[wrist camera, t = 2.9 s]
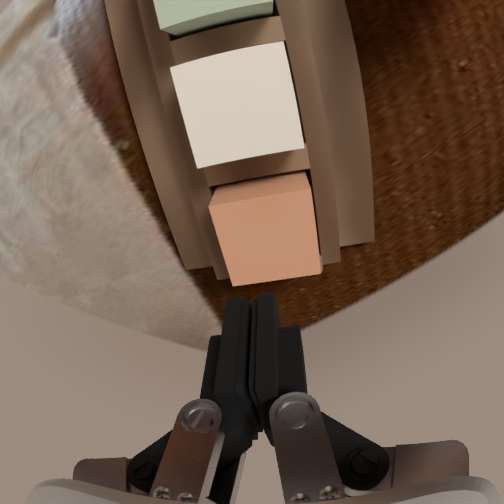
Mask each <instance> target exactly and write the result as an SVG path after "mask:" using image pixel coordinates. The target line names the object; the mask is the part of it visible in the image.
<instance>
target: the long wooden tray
mask: <svg viewBox="0 0 504 504" xmlns="http://www.w3.org/2000/svg"><path fill="white" fill-rule="evenodd" d="M104 1H105V6H106V11H107V16H108V20H109V25H110V30H111V34H112V38H113V43H114V47H115V51H116V55H117V59H118V63H119V67H120V71H121V75H122V79H123V82H124V86H125V90H126V93H127V97H128V101H129V104H130V108H131V111H132V115H133V118H134V121H135V125H136V128H137V131H138V135H139V138H140V141H141V144H142V148H143V151H144V154H145V157H146V160H147V163H148V166H149V169H150V172H151V175H152V178H153V181H154V184H155V187H156V190H157V193H158V196H159V199H160V202H161V204H162V207H163V210H164V213H165V216H166V218H167V221H168V224H169V227H170V229H171V232H172V235H173V237H174V240H175V243H176V245H177V248H178V251H179V253H180V256H181V258H182V261H183V264H184V266H185V269H186V270H190V269H197V268H204V267H211V266H213V268H214V271H215V274H216V277H217V280H222V279H229V278H230V276H229V273H228V269H227V266H226V263H225V260H224V257H223V253H222V250H221V247H220V244H219V240H218V237H217V234H216V230H215V227H214V224H213V220H212V217H211V214H210V210H209V207H208V206H209V204H210V202H211V199H212V197H213V195H214V192H215V190H216V188H217V186H218V185H223V184H228V183H233V182H238V181H243V180H248V179H254V178H259V177H265V176H271V175H276V174H282V173H288V172H295V171H301V170H304V172H305V174H306V177H307V180H308V182H309V185H310V188H311V193H312V200H313V208H314V215H315V223H316V231H317V240H318V249H319V258H320V267H321V271H323V267H322V265H323V264H330V263H336V262H341V257H340V247H341V246H347V245H354V244H360V243H366V242H373V241H374V201H373V180H372V165H371V152H370V141H369V132H368V123H367V114H366V106H365V99H364V92H363V86H362V79H361V73H360V68H359V62H358V57H357V52H356V47H355V42H354V37H353V32H352V28H351V24H350V19H349V15H348V11H347V7H346V3H345V0H273V11H272V15H267V16H261V17H255V18H250V19H245V20H240V21H235V22H230V23H226V24H222V25H218V26H214V27H210V28H206V29H202V30H199V31H195V32H192V33H188V34H185V35H182V36H179V37H178V36H176V35H173V34H171V33H168V32H166V31H163V30H160V27H159V23H158V18H157V14H156V10H155V6H154V2H153V0H104ZM281 41H283V42H284V46H285V50H286V55H287V59H288V64H289V68H290V73H291V78H292V83H293V88H294V93H295V98H296V103H297V108H298V113H299V119H300V124H301V130H302V136H303V141H304V147H305V148H303V149H296V150H290V151H284V152H278V153H272V154H266V155H261V156H255V157H250V158H245V159H240V160H235V161H230V162H225V163H220V164H216V165H211V166H207V167H202V168H198V169H197V166H196V162H195V159H194V155H193V152H192V148H191V145H190V141H189V138H188V134H187V130H186V127H185V123H184V119H183V116H182V112H181V108H180V105H179V101H178V97H177V93H176V90H175V86H174V82H173V78H172V74H171V71H170V67H173V66H177V65H180V64H183V63H186V62H190V61H193V60H197V59H200V58H204V57H208V56H212V55H216V54H220V53H224V52H228V51H233V50H237V49H242V48H247V47H252V46H257V45H263V44H268V43H275V42H281Z"/></svg>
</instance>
